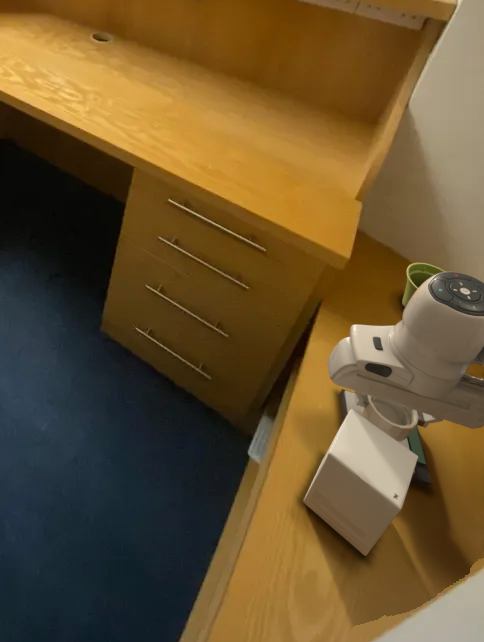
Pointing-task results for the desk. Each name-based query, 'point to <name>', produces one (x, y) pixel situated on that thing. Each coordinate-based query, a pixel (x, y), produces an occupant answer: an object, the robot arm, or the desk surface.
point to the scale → (411, 442)
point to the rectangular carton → (361, 482)
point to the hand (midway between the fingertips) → (388, 411)
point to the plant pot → (418, 278)
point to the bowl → (390, 417)
